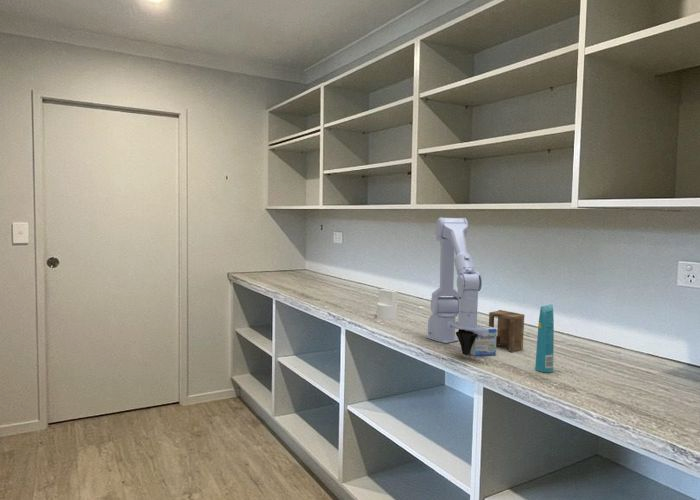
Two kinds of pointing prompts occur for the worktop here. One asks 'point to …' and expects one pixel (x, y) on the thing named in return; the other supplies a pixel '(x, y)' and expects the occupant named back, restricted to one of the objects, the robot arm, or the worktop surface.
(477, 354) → the medicine box
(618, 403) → the worktop surface
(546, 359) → the tube
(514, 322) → the walnut bay
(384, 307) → the base with upright slab
